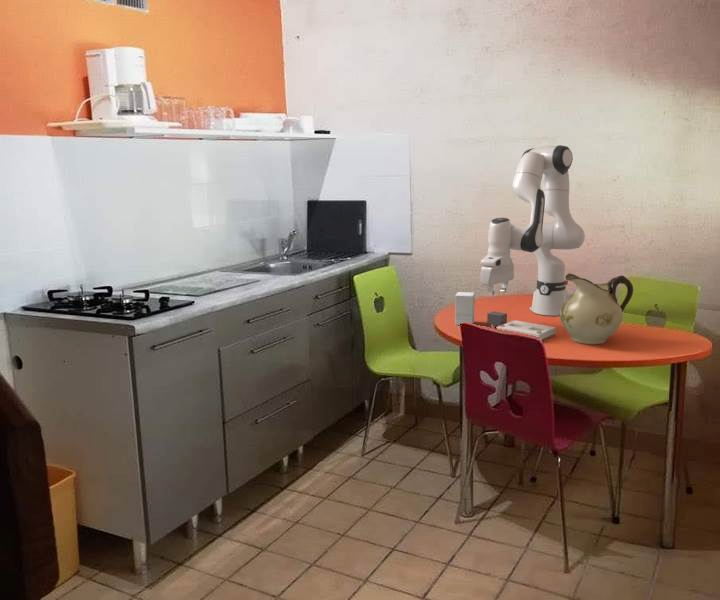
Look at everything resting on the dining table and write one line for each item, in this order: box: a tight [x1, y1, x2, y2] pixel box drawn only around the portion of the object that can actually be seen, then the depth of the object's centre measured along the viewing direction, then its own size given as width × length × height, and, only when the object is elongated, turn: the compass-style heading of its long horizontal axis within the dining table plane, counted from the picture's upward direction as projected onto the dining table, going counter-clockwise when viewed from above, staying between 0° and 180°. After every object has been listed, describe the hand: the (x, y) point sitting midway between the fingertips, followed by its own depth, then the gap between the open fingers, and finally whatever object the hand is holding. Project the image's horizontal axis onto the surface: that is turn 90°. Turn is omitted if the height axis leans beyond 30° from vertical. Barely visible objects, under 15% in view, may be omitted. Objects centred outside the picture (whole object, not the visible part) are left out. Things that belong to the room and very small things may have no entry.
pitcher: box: [559, 272, 634, 345], centre depth 265 cm, size 22×24×25 cm
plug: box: [486, 311, 508, 328], centre depth 285 cm, size 5×6×6 cm
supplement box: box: [454, 291, 476, 326], centre depth 292 cm, size 7×7×13 cm
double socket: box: [495, 319, 557, 341], centre depth 275 cm, size 14×18×4 cm
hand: (497, 293), depth 282 cm, fingers open, 8 cm apart
